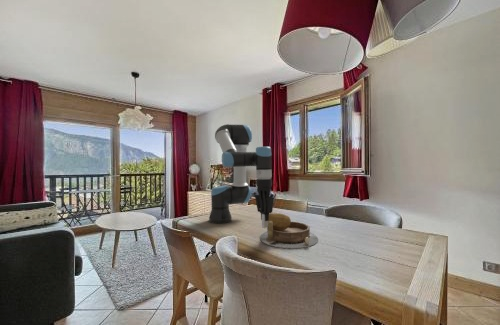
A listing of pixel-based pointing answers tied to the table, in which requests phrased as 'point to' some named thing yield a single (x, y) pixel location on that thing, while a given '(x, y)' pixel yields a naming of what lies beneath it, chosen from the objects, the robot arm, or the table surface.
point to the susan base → (292, 245)
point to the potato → (279, 221)
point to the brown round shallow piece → (288, 233)
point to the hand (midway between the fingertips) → (265, 227)
